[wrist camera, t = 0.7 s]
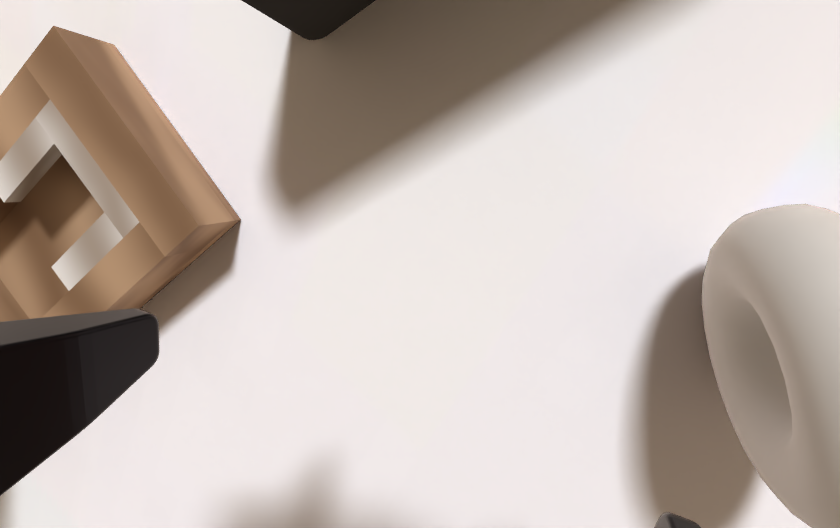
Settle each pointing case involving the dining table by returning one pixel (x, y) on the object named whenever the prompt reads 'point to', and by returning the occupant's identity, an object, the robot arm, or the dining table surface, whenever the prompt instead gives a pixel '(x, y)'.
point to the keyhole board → (94, 186)
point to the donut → (781, 350)
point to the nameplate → (310, 14)
